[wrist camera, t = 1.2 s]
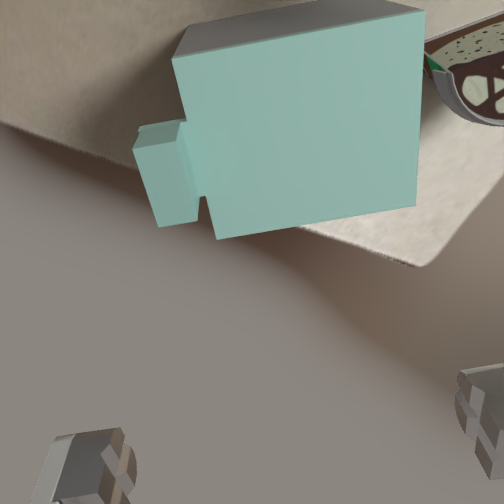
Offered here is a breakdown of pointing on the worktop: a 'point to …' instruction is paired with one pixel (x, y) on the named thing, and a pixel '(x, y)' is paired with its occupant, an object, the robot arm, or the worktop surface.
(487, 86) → the food container
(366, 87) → the lid
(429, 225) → the worktop surface
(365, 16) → the tub
